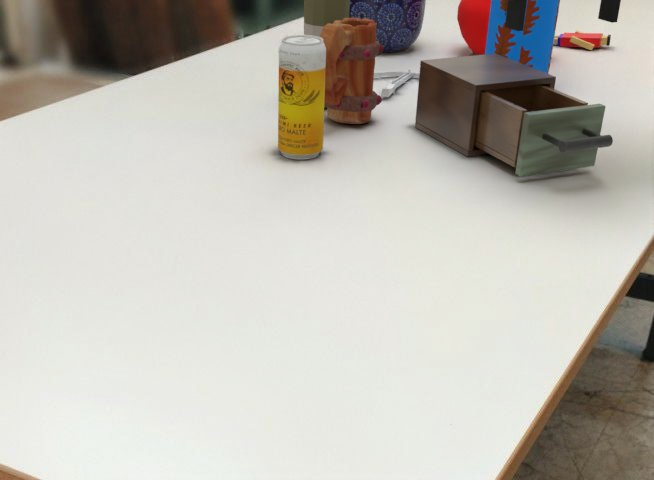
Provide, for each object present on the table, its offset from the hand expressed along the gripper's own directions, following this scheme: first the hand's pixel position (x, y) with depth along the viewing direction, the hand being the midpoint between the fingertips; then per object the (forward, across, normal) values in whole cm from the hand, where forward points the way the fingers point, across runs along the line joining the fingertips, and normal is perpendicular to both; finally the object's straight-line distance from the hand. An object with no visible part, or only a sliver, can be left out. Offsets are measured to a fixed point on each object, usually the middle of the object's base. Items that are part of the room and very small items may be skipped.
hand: (561, 24), depth 114 cm
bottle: (+18, +15, -37) cm, 44 cm away
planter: (+18, -12, -71) cm, 74 cm away
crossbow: (+18, -1, -42) cm, 46 cm away
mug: (+18, +17, -26) cm, 36 cm away
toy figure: (+18, -50, -59) cm, 79 cm away
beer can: (+18, +28, -16) cm, 37 cm away
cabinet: (+18, 0, -14) cm, 23 cm away
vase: (+18, -31, -57) cm, 67 cm away
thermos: (+18, -20, -37) cm, 46 cm away
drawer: (+17, 0, 0) cm, 17 cm away
